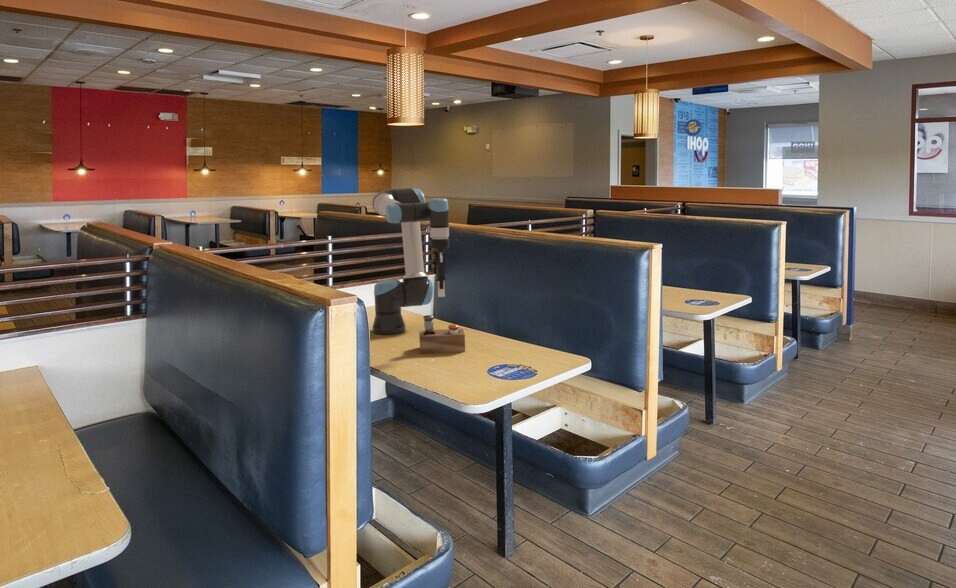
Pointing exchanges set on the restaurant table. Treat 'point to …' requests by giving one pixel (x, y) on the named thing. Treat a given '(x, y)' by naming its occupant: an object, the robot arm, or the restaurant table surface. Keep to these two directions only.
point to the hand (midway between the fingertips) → (441, 296)
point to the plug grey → (428, 324)
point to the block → (442, 342)
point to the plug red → (453, 328)
